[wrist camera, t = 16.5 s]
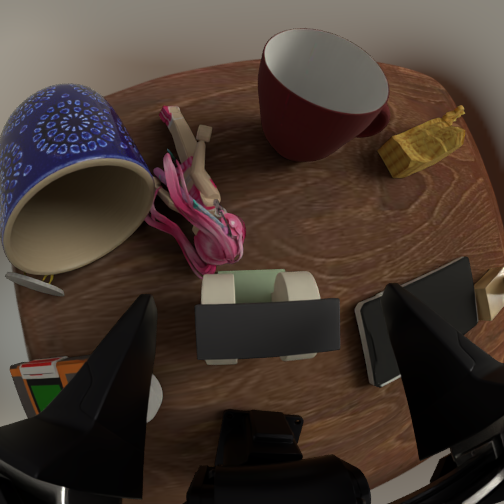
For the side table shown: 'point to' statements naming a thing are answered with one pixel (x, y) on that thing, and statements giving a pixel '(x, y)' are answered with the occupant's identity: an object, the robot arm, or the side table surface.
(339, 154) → the side table surface
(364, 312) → the smartphone
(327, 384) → the side table surface
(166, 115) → the toy
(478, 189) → the side table surface
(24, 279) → the figurine
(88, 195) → the planter
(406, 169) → the figurine
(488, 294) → the hook stand
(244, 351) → the headphones
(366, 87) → the mug
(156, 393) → the electronic device
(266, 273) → the felt mat
